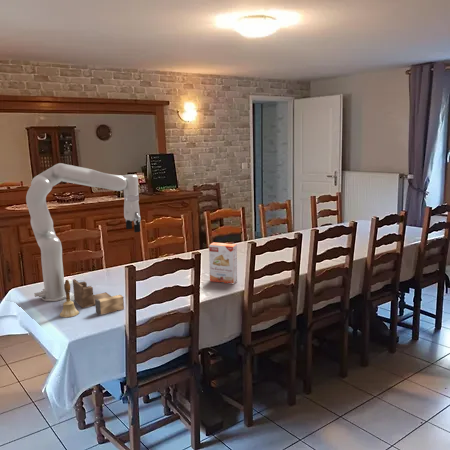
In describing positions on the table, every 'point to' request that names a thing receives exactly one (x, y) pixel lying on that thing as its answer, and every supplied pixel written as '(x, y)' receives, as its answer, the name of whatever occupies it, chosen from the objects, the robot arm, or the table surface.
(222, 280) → the cracker box
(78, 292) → the brown wooden angled piece
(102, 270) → the table surface
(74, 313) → the hand bell
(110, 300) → the tan wooden block
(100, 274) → the table surface
